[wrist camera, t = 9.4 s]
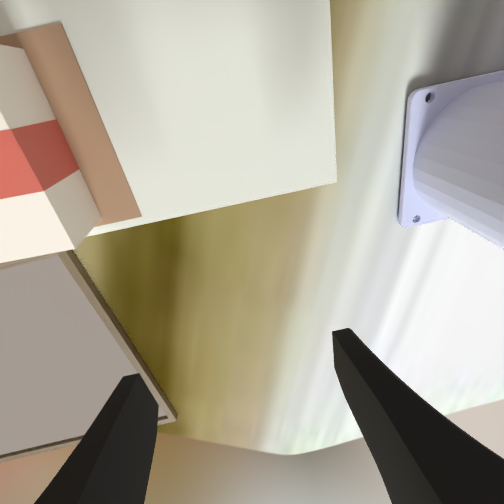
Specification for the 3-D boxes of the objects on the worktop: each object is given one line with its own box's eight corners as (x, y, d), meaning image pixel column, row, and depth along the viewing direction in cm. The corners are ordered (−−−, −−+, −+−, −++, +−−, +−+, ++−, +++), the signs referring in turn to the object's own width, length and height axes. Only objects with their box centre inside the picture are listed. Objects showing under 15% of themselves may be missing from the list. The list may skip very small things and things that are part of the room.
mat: (307, -433, 8) (312, -461, 8) (334, 180, 17) (337, 182, 17) (-439, -262, 8) (-475, -280, 8) (-24, 258, 18) (-30, 262, 17)
